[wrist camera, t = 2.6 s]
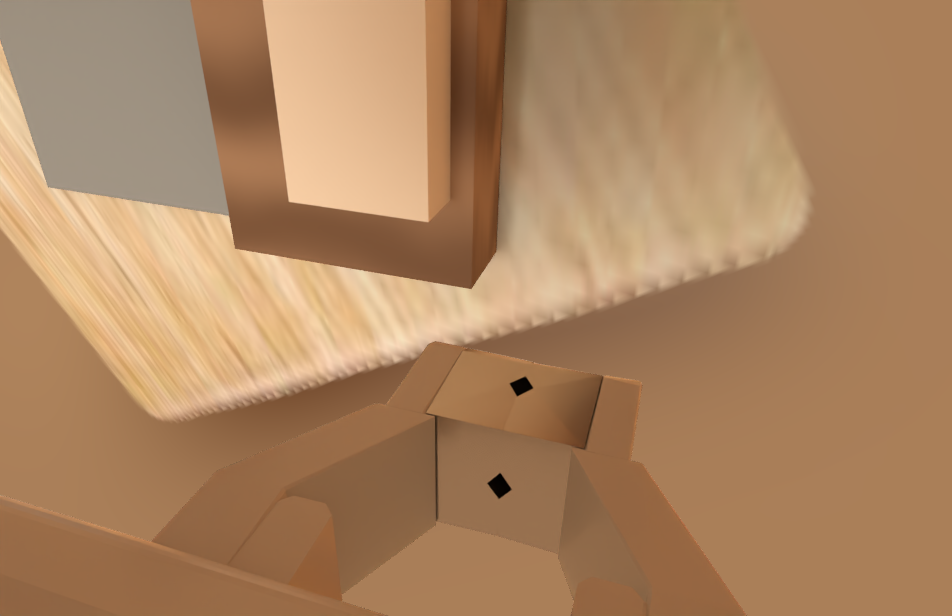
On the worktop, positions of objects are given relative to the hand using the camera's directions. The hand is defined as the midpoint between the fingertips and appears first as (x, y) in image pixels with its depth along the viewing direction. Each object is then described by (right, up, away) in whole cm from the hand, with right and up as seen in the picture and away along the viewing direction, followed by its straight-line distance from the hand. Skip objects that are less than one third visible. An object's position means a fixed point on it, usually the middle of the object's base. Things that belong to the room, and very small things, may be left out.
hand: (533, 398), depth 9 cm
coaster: (-5, +9, +15) cm, 18 cm away
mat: (-19, +14, +24) cm, 33 cm away
